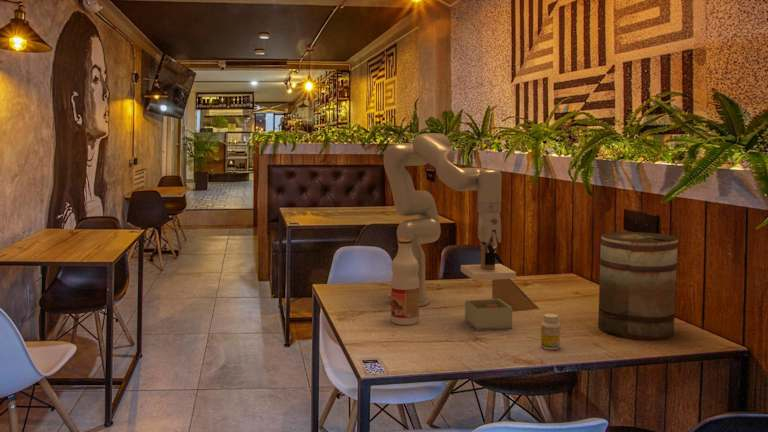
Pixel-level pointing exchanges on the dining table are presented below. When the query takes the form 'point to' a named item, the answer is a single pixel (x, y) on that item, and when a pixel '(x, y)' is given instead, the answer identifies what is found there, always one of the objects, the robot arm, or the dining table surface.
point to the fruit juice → (404, 285)
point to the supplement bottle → (550, 332)
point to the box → (488, 314)
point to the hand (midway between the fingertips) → (487, 262)
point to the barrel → (637, 285)
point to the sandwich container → (511, 295)
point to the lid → (487, 270)
